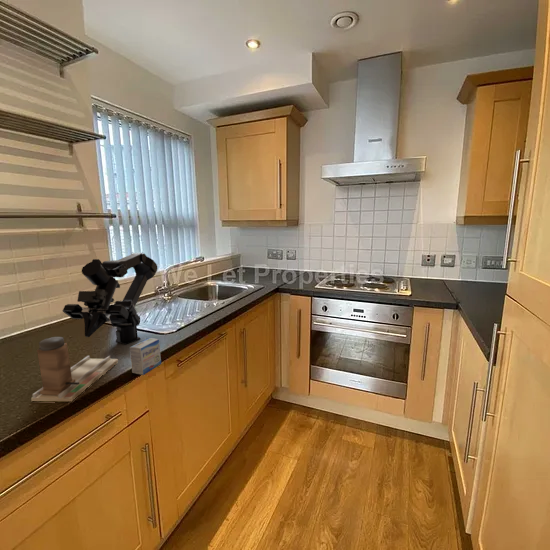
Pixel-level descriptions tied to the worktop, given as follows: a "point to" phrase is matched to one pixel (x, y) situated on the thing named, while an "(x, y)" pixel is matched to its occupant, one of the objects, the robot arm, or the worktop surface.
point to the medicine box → (145, 356)
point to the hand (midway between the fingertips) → (86, 336)
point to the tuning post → (54, 366)
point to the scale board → (80, 378)
